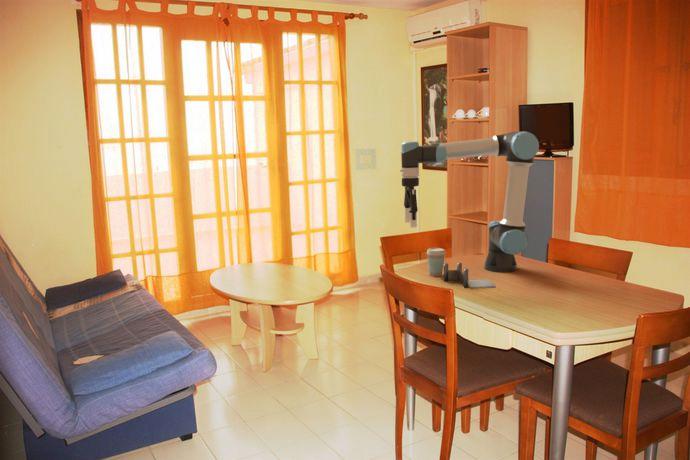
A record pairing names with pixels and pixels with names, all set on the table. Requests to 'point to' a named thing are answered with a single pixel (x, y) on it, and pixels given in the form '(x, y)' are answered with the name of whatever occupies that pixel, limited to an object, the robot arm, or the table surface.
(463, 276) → the rail
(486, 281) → the coaster
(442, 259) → the coffee cup
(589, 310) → the table surface
